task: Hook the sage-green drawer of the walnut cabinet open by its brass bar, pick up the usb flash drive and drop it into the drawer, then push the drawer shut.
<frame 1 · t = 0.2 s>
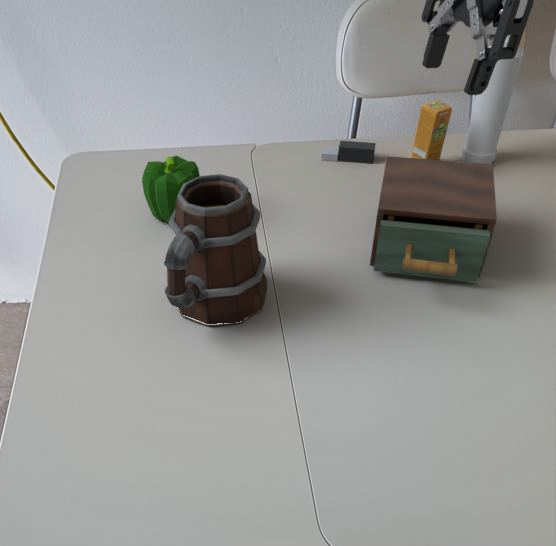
hand: (450, 79, 75), 21 cm above the table, tool pointing down, fingers open, 8 cm apart
supplement box: (424, 168, 102), on the table
drawer: (430, 235, 81), point 4 cm above the table, slide at 1.0 cm
usb flash drive: (348, 158, 106), on the table
bottle: (477, 160, 103), on the table
mug: (211, 307, 81), on the table
bell pepper: (174, 217, 96), on the table
cabinet: (425, 242, 88), on the table
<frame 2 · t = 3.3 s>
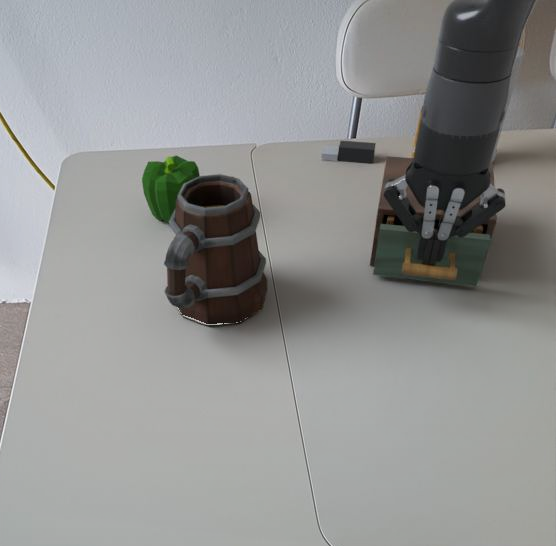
hand: (428, 261, 75), 6 cm above the table, tool pointing down, fingers closed
drawer: (430, 239, 81), point 4 cm above the table, slide at 1.9 cm, touching gripper
everything else where it was.
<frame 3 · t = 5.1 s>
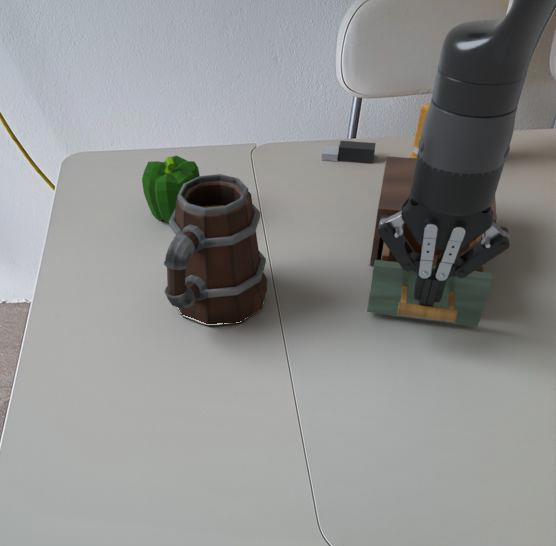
hand: (425, 301, 70), 6 cm above the table, tool pointing down, fingers closed
drawer: (427, 275, 75), point 4 cm above the table, slide at 9.3 cm, touching gripper
everything else where it was.
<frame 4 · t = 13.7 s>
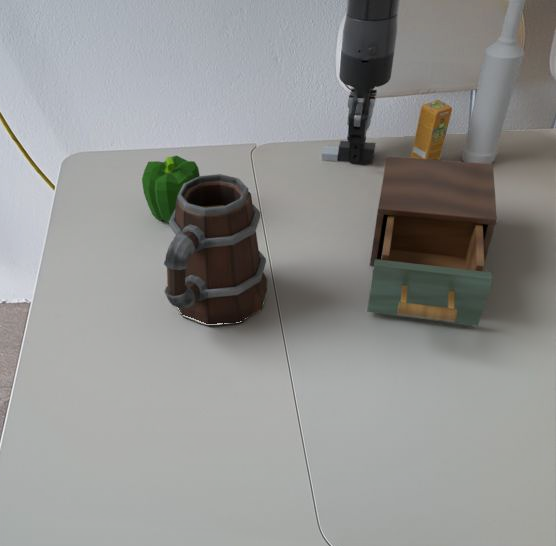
hand: (355, 157, 105), 0 cm above the table, tool pointing down, fingers closed on usb flash drive, 2 cm apart
drawer: (427, 275, 76), point 4 cm above the table, slide at 9.3 cm
usb flash drive: (348, 158, 106), on the table, touching gripper
everything else where it was.
when the fingers open (5 cm above the table, at t = 20.7 s): usb flash drive drops 2 cm, resting on drawer.
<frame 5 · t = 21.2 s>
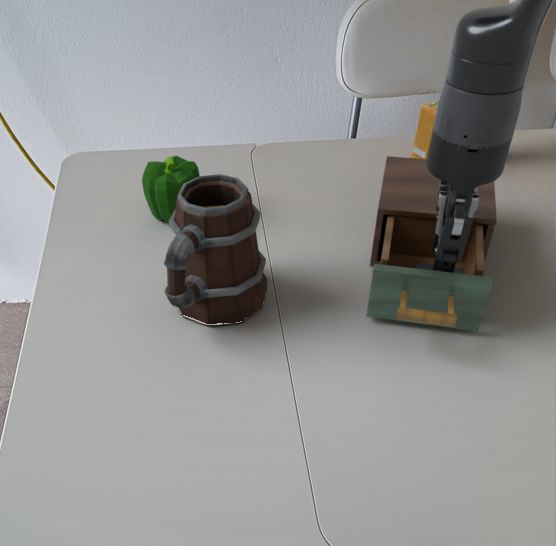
hand: (440, 266, 75), 5 cm above the table, tool pointing down, fingers open, 5 cm apart
drawer: (427, 279, 75), point 4 cm above the table, slide at 10.1 cm, touching gripper, usb flash drive
usb flash drive: (425, 285, 78), point 2 cm above the table, touching drawer
everything else where it was.
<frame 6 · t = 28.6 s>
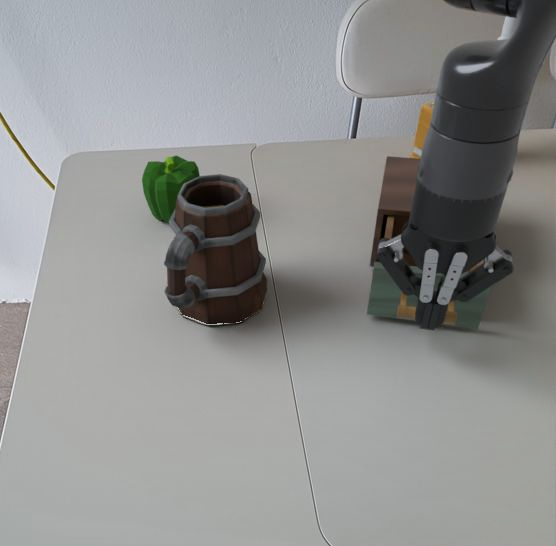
hand: (427, 324, 68), 5 cm above the table, tool pointing down, fingers closed
drawer: (427, 277, 75), point 4 cm above the table, slide at 9.7 cm, touching gripper, usb flash drive
everything else where it was.
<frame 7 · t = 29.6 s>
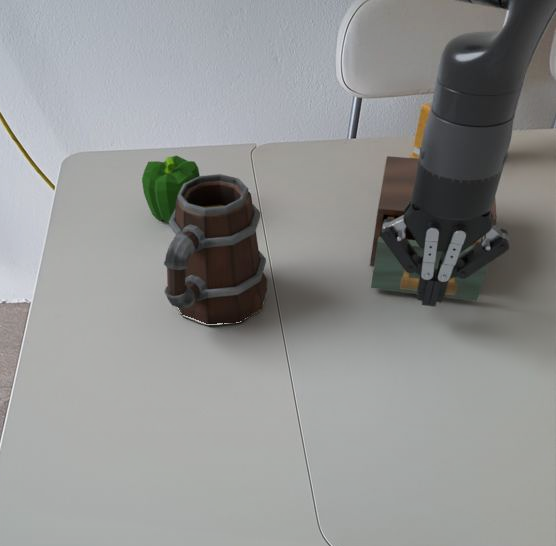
hand: (428, 301, 72), 4 cm above the table, tool pointing down, fingers closed
drawer: (429, 252, 79), point 4 cm above the table, slide at 4.6 cm, touching gripper, usb flash drive
usb flash drive: (426, 259, 81), point 2 cm above the table, touching drawer
everything else where it was.
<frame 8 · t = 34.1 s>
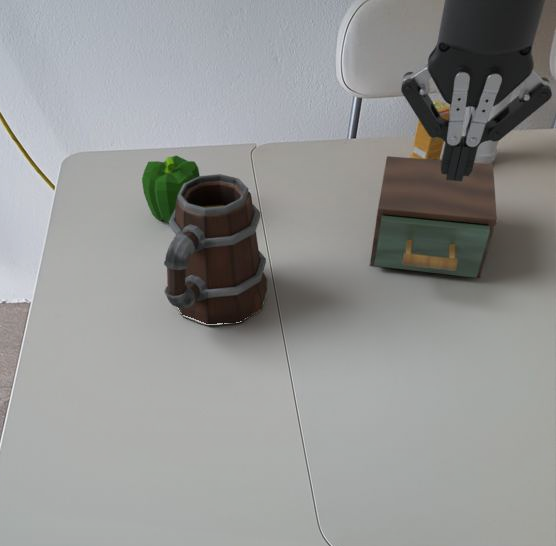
hand: (453, 176, 63), 19 cm above the table, tool pointing down, fingers closed
drawer: (430, 231, 82), point 4 cm above the table, slide at 0.0 cm, touching cabinet, usb flash drive
usb flash drive: (428, 238, 85), point 2 cm above the table, touching drawer
everything else where it was.
at the end: drawer pulled out 10.1 cm at the most during the clip, back to where it started at the end; usb flash drive inside the target area in the cabinet (2.2 cm from its centre), point 2.0 cm above the cabinet's base; drawer slide at 0.0 cm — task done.
